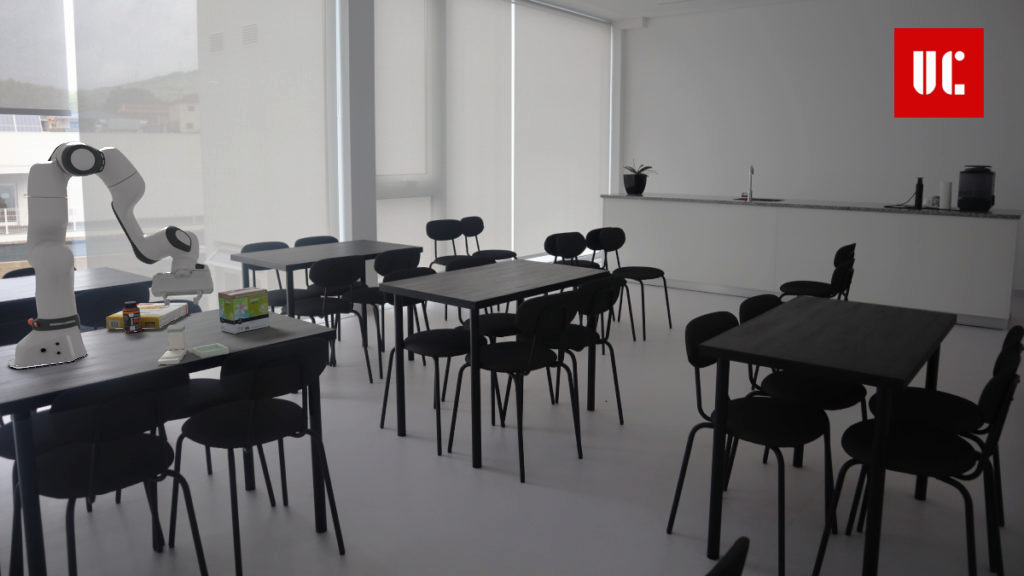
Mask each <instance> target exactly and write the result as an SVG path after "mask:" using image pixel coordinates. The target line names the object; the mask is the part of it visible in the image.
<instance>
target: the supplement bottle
mask: <svg viewBox="0 0 1024 576" xmlns="http://www.w3.org/2000/svg"><path fill="white" fill-rule="evenodd" d="M121 311H122V312H123V322H124V329H123V330H124V332H125V331H126V332H134V331H140V330H141V331H142V325H141V316H140V308H139V307H137V301H135V300H133V301H125V302H124V308H122V310H121ZM141 331H140V332H141ZM126 332H125V333H126Z"/></svg>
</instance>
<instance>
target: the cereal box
mask: <svg viewBox="0 0 1024 576" xmlns="http://www.w3.org/2000/svg"><path fill="white" fill-rule="evenodd" d="M136 304H137V303H136ZM137 307H139V308H140V316H141V325H142V328H160V327H161V326H163V325H165V324H167V323H169V322H171V321H173V320H174V319H175V318H178V317H181V316H182V317H184V316H186V315H188V314H189V307H188V303H187V302H170V306H165V305H164V302H162V303H161V302H159V303H158V302H157V303H155V302H154V303H153V302H152V303H150V302H149V303H147V302H146V303H144V302H143V303H138V304H137ZM182 317H181V318H182ZM105 321H106V322H105V323H106V329H107V330H116V329H115V328H124V322H123V312H122V310H120V311H118V312H116V313H112V314H111V315H109V316H106V317H105ZM173 322H174V321H173ZM171 323H172V322H171ZM160 329H161V328H160Z"/></svg>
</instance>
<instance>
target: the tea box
mask: <svg viewBox="0 0 1024 576" xmlns="http://www.w3.org/2000/svg"><path fill="white" fill-rule="evenodd" d="M268 293H269V292H268V289H266V288H261V287H256V286H249V287H242V288H238V289H231V290H226V291H225V290H224V291H220V292H218V294H217V297H218V298H217V299H218V313H219V314H218V315H219V325H220V326H219V327H220V331H222V332H226V333H229V334H230V333H231V334H233V335H234V334H235V335H236V334H239V333H243V332H246V331H253V330H257V329H261V328H262V329H264V328H268V326H269V327H270V314H269V313H270V312H269V297H268V295H269V294H268Z"/></svg>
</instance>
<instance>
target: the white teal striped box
mask: <svg viewBox="0 0 1024 576" xmlns="http://www.w3.org/2000/svg"><path fill="white" fill-rule="evenodd" d="M166 332H167V339H168V348H169V350H172V351H173V350H175V349H178V350H182V349H184V350H186V351H188V348H187V336H186V326H185V324H184V323H182V324H179V323H178V324H168V326H167V329H166Z"/></svg>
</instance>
